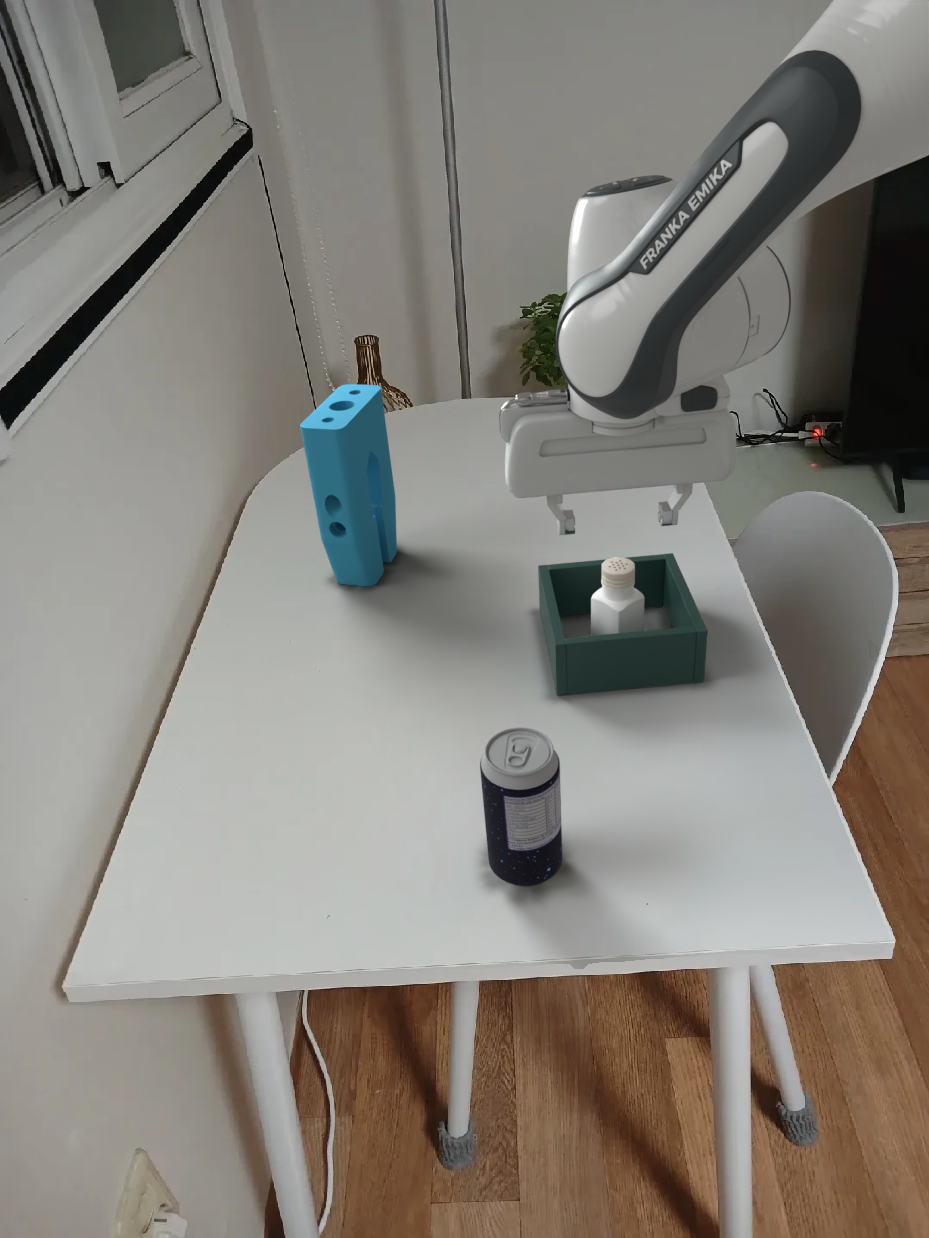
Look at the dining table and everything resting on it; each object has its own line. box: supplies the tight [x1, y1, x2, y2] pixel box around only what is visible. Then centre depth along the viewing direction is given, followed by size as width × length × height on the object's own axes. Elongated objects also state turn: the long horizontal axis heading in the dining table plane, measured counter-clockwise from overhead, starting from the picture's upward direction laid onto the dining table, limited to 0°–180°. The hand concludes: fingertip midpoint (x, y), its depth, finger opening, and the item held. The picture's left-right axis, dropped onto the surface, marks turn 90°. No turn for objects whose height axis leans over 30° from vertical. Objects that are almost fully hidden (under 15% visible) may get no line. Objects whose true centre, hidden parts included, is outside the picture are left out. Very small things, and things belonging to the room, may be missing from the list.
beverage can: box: [479, 727, 563, 887], centre depth 70 cm, size 6×6×12 cm
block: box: [299, 383, 398, 587], centre depth 107 cm, size 12×5×20 cm, turn 164°
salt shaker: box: [590, 556, 645, 636], centre depth 93 cm, size 4×4×10 cm
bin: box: [537, 552, 709, 697], centre depth 94 cm, size 14×14×6 cm
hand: (616, 527), depth 88 cm, fingers open, 8 cm apart
